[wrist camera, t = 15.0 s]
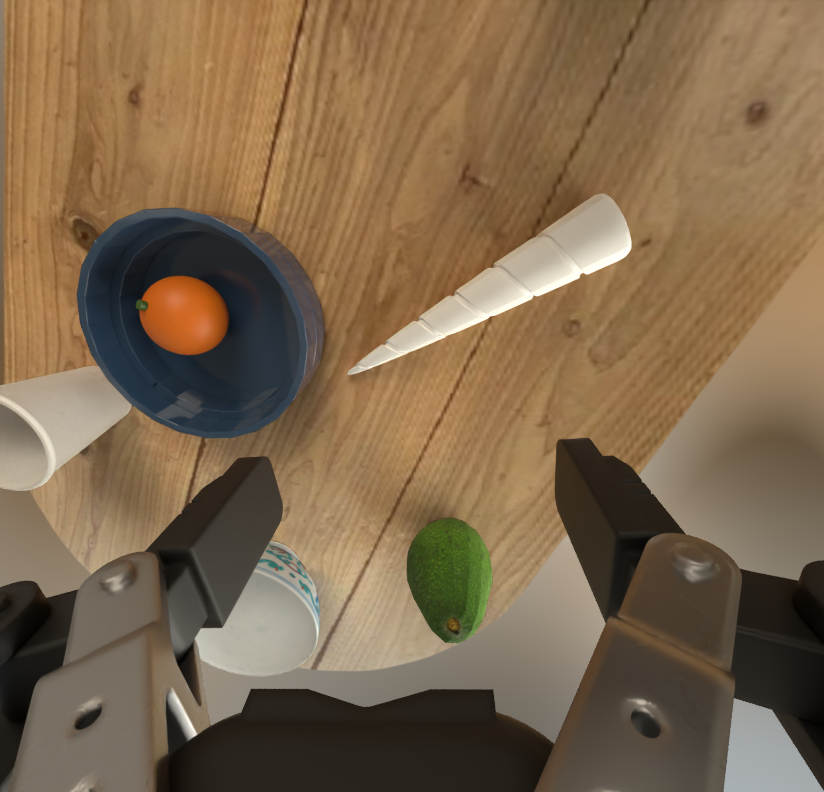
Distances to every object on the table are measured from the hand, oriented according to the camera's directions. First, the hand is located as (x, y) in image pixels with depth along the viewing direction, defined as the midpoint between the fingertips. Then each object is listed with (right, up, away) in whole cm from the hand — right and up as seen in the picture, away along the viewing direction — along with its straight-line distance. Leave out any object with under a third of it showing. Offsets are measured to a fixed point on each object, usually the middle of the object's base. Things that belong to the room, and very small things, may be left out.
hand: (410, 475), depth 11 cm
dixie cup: (-30, +3, +27) cm, 40 cm away
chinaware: (-16, -17, +34) cm, 41 cm away
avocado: (+4, -12, +30) cm, 33 cm away
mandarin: (-17, +8, +19) cm, 27 cm away
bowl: (-16, +9, +23) cm, 29 cm away
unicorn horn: (+5, +10, +21) cm, 24 cm away
